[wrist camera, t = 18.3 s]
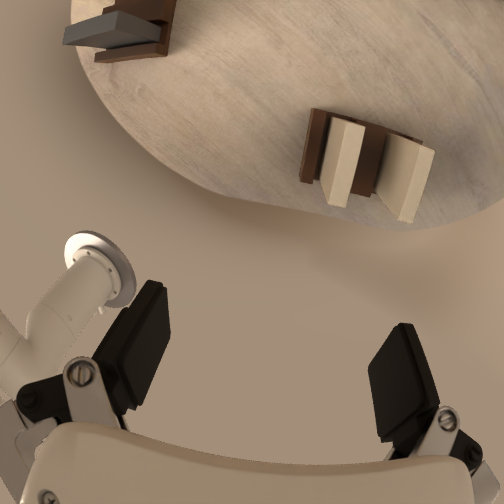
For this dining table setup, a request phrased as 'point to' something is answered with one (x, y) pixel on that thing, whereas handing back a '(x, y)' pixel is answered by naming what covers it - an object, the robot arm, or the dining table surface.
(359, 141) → the white book
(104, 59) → the rack
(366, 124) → the rack
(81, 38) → the grey book
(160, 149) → the dining table surface
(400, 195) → the white book
